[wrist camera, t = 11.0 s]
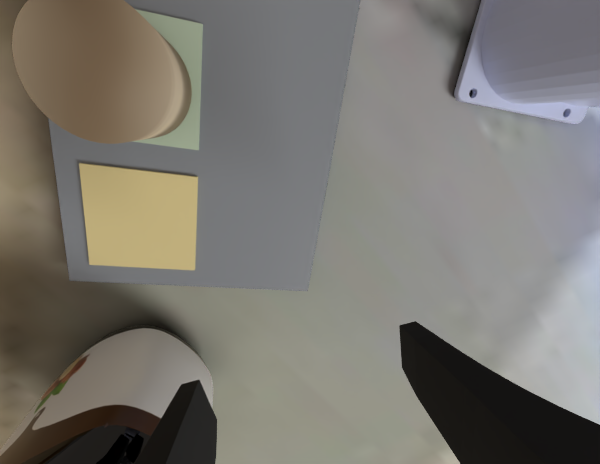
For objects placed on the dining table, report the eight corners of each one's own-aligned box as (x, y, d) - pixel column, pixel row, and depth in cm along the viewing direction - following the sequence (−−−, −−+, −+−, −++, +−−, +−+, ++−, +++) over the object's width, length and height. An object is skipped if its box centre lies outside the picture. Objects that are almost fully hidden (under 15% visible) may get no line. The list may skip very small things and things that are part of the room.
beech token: (200, 47, 13) (181, 19, 10) (182, 150, 15) (160, 159, 11) (83, 5, 12) (11, -47, 9) (76, 120, 14) (11, 120, 10)
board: (378, -141, 13) (392, -170, 12) (304, 281, 20) (308, 292, 19) (17, -276, 10) (-15, -333, 9) (80, 270, 18) (67, 282, 16)
